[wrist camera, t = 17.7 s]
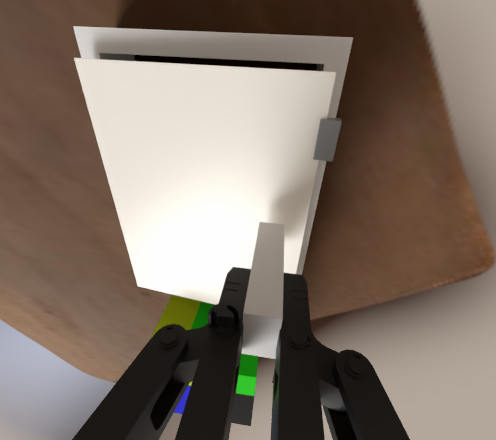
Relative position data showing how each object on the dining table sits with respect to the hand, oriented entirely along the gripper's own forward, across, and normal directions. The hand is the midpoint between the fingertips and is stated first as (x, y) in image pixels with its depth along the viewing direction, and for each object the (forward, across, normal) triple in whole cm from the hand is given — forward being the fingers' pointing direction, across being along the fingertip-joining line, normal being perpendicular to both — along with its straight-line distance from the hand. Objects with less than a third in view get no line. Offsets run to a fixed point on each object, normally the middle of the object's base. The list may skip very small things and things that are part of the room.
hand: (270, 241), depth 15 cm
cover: (+3, -4, 0) cm, 5 cm away
